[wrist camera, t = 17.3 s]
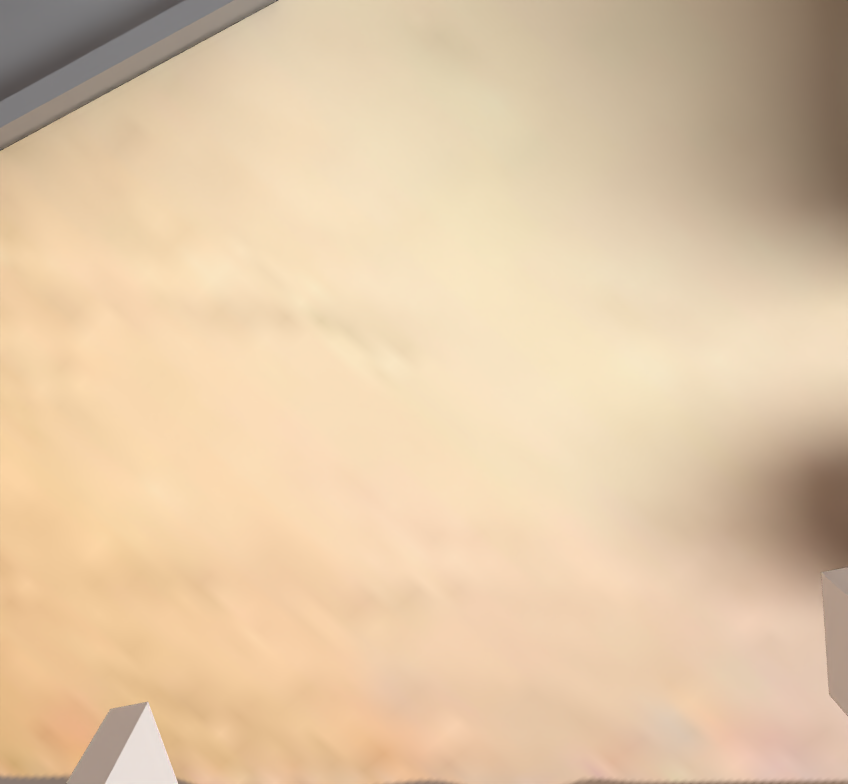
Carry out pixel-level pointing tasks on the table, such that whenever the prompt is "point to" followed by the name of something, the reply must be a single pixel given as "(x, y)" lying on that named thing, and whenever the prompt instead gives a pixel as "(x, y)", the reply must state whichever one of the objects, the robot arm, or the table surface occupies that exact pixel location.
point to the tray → (92, 50)
